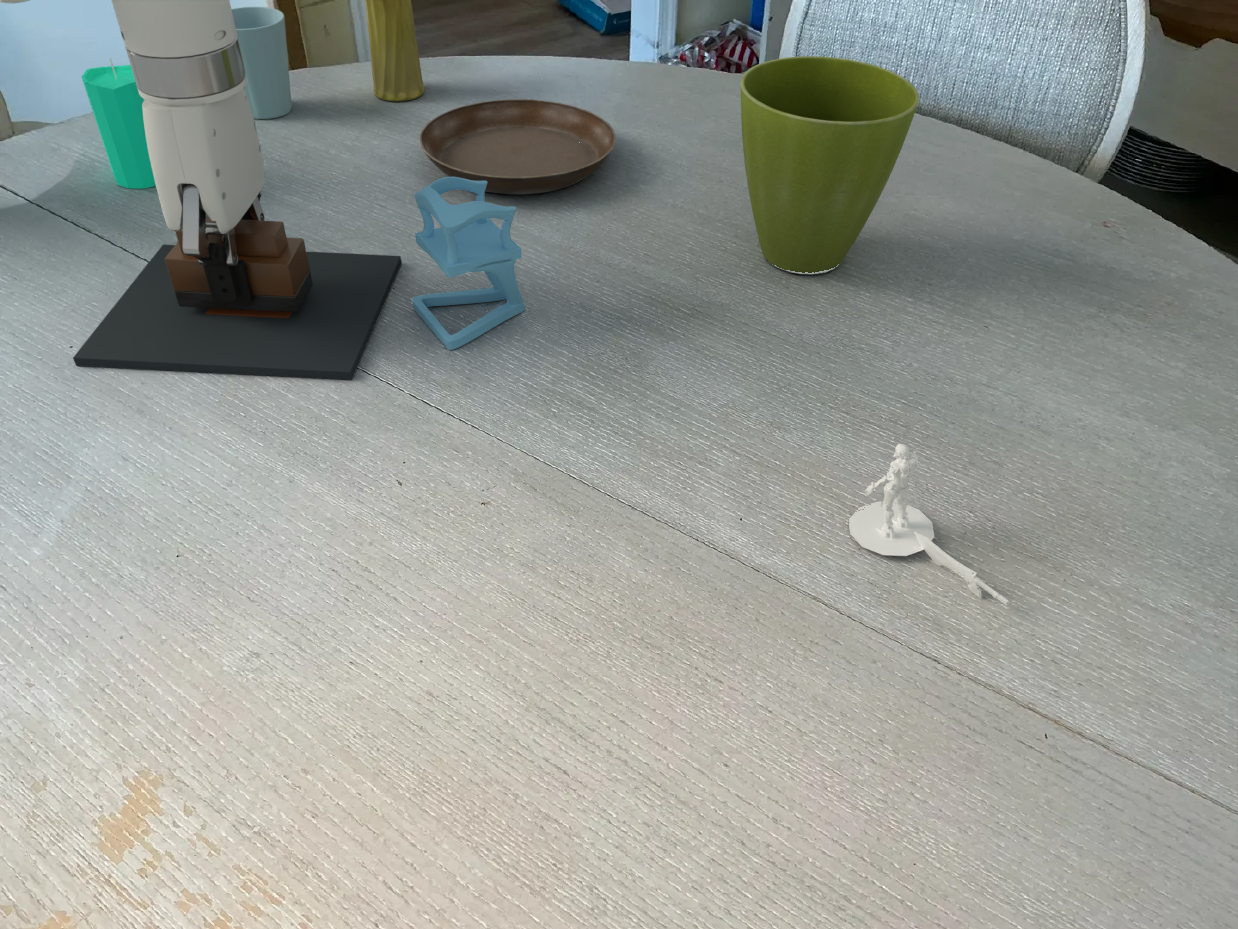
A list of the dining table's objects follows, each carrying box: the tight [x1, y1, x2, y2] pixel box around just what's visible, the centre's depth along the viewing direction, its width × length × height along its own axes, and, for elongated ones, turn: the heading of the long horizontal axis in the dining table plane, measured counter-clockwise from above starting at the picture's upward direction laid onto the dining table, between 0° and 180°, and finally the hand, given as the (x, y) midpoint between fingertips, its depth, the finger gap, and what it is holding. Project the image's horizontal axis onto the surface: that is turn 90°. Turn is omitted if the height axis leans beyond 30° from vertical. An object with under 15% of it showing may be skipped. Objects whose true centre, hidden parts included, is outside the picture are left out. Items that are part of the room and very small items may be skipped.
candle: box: [81, 57, 156, 190], centre depth 101 cm, size 6×6×12 cm
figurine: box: [848, 443, 1010, 607], centre depth 64 cm, size 6×12×8 cm, turn 37°
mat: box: [72, 244, 402, 381], centre depth 86 cm, size 22×18×1 cm
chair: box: [411, 176, 526, 351], centre depth 82 cm, size 8×8×12 cm
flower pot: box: [740, 55, 920, 273], centre depth 90 cm, size 15×15×16 cm
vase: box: [364, 0, 426, 103], centre depth 118 cm, size 6×6×14 cm
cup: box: [231, 6, 293, 120], centre depth 115 cm, size 8×8×10 cm
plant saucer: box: [418, 98, 617, 195], centre depth 108 cm, size 21×21×3 cm
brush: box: [165, 218, 313, 313], centre depth 83 cm, size 10×4×6 cm, turn 87°
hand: (244, 284), depth 84 cm, fingers closed on brush, 4 cm apart
